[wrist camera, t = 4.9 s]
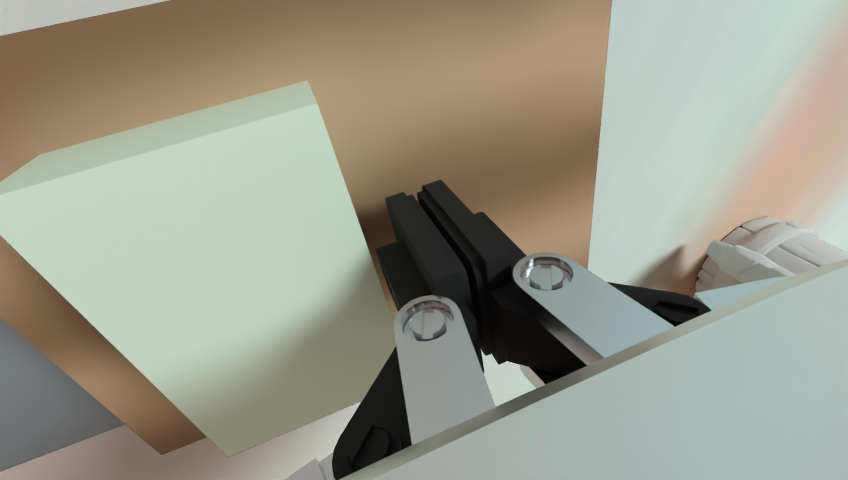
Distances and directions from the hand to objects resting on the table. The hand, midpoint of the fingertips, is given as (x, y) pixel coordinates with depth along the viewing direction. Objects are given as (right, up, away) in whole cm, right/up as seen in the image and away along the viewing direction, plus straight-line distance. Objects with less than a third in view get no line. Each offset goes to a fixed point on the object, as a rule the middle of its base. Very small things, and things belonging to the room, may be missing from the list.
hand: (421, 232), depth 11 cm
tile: (-4, -2, -1) cm, 5 cm away
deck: (-3, +2, +3) cm, 5 cm away
